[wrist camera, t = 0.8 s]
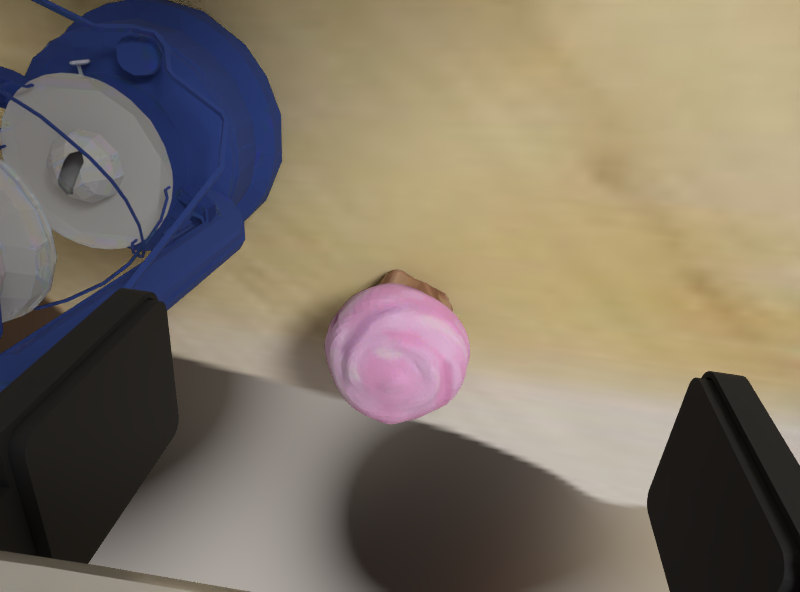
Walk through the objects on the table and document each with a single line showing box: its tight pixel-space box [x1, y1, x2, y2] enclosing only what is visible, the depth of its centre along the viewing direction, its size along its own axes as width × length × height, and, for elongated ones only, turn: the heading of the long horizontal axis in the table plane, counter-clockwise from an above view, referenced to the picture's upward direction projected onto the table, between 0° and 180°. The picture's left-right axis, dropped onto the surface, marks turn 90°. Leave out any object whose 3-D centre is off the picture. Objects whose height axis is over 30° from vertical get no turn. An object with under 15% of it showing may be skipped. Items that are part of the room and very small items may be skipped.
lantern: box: [0, 0, 282, 392], centre depth 27 cm, size 17×15×30 cm
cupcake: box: [325, 270, 470, 424], centre depth 40 cm, size 9×9×10 cm
